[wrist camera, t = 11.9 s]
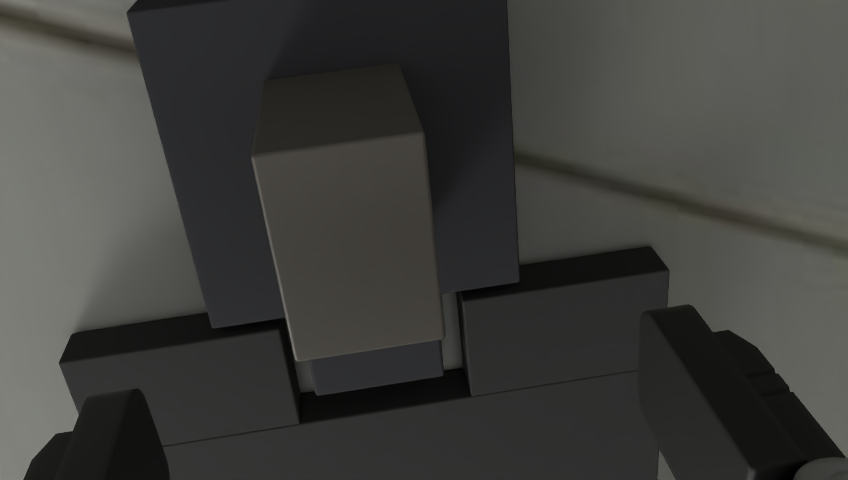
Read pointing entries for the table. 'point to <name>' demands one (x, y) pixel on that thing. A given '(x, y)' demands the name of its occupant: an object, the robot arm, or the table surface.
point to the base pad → (407, 389)
